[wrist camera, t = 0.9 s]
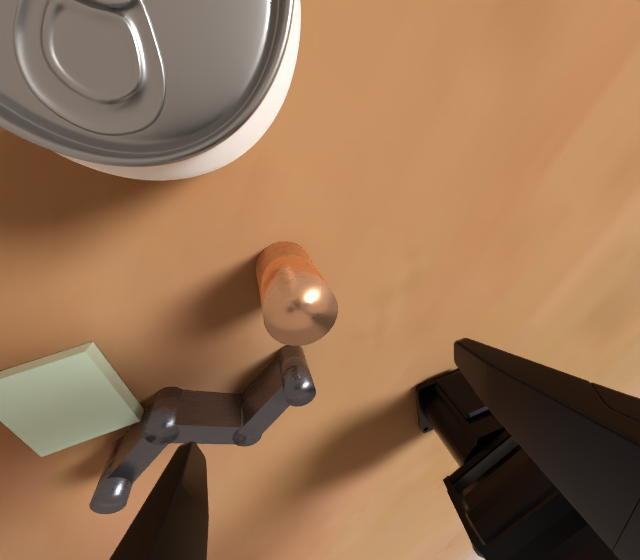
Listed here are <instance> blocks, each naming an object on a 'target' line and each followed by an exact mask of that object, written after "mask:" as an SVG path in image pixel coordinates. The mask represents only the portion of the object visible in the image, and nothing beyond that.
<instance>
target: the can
mask: <svg viewBox="0 0 640 560" xmlns="http://www.w3.org/2000/svg"><path fill="white" fill-rule="evenodd" d="M300 22H301V6H300V0H0V127H2V128H3V129H5V130H7V131H9V132H11V133H13V134H15V135H17V136H19V137H21V138H23V139H25V140H27V141H29V142H31V143H34V144H36V145H38V146H41V147H43V148H46V149H48V150H51V151H54V152H55V153H57V154H59V155H61V156H63V157H65V158H68V159H70V160H72V161H74V162H76V163H79V164H81V165H84V166H86V167H89V168H92V169H95V170H98V171H101V172H104V173H108V174H112V175H116V176H121V177H125V178H132V179H139V180H155V181H164V180H179V179H186V178H192V177H196V176H200V175H203V174H206V173H209V172H212V171H214V170H217V169H219V168H221V167H223V166H225V165H227V164H229V163H231V162H232V161H234V160H235V159H237V158H238V157H240V156H241V155H242V154H244V153H245V152H246V151H247V150H249V149H250V148H251V147H252V146H253V145H254V144H255V143H256V142H257V141H258V140H259V139H260V138H261V137H262V135H263V134H264V133H265V132H266V130H267V129H268V128H269V126H270V125H271V123H272V122H273V120H274V119H275V117H276V115H277V114H278V112H279V110H280V108H281V106H282V104H283V102H284V99H285V97H286V94H287V92H288V89H289V86H290V83H291V80H292V76H293V72H294V68H295V64H296V59H297V54H298V47H299V38H300Z"/></svg>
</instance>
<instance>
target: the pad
mask: <svg viewBox="0 0 640 560" xmlns="http://www.w3.org/2000/svg"><path fill="white" fill-rule="evenodd" d="M143 412H144V409H143V407H142V406H141V405H140V403H139V402H138V401H137V400H136V398H135V397H134V396H133V394H132V393H131V392H130V390H129V389H128V388H127V386H126V385H125V384H124V382H123V381H122V380H121V378H120V377H119V376H118V374H117V373H116V372H115V370H114V369H113V368H112V366H111V365H110V364H109V362H108V361H107V360H106V358H105V357H104V356H103V354H102V353H101V352H100V350H99V349H98V348H97V346H96V345H95V344H94V342H89V343H86V344H83V345H80V346H77V347H74V348H71V349H68V350H65V351H61V352H58V353H55V354H52V355H49V356H46V357H43V358H40V359H37V360H34V361H30V362H27V363H24V364H21V365H18V366H15V367H12V368H9V369H6V370H2V371H0V421H1V422H2V423H3V424H4V425H5V426H6V427H8V428H9V429H10V430H11V431H12V432H13V433H14V434H15V435H17V436H18V437H19V438H20V439H21V440H22V441H23V442H24V443H26V444H27V445H28V446H29V447H30V448H31V449H32V450H33V451H35V452H36V453H37V454H38V455H39V456H40V457H43V456H46V455H49V454H51V453H54V452H57V451H60V450H62V449H65V448H68V447H71V446H73V445H76V444H79V443H82V442H84V441H87V440H90V439H93V438H95V437H98V436H101V435H104V434H107V433H109V432H112V431H115V430H118V429H120V428H123V427H126V426H129V425H131V424H134V423H137V422H140V421H141V418H142V415H143Z"/></svg>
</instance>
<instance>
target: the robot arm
mask: <svg viewBox="0 0 640 560" xmlns="http://www.w3.org/2000/svg"><path fill="white" fill-rule="evenodd" d="M454 361H455V363H456V365H457V367H458V368H459V370H457V371H454V372H452V373H449V374H447V375H444V376H442V377H439V378H437V379H434V380H431V381H429V382H426V383H424V384H421V385H419V386H418V387H417V388H416V398H417V408H418V418H419V428H420V430H421V431H422V432H423V433H425V432H428V431H430V430H433V429H434V430H435V432H436V433H437V434H438V436H439V437H440V439H441V440H442V442H443V443H444V445H445V446H446V447H447V449H448V450H449V452H450V453H451V455H452V456H453V458H454V459H455V460H456V462H457V463H458V465H459V466H460V468H458V469H457V470H456V471H455V472H454V473H453V474H451V475H450V476H447V477H446V478H444V479H443V481H444V483H445V485H446V487H447V492H448V494H449V496H450V498H451V500H452V503H453V505H454V507H455V509H456V511H457V513H458V515H459V517H460V519H461V521H462V523H463V526H464V528H465V530H466V532H467V534H468V536H469V538H470V540H471V543H472V546H473V549H474V551H475V552H476V553H477V555H478V556H480V557H482V558H484V559H485V560H640V398H637V397H633V396H630V395H627V394H624V393H621V392H618V391H616V390H613V389H610V388H607V387H604V386H601V385H598V384H595V383H590V382H589V381H587V380H584V379H581V378H578V377H576V376H573V375H570V374H567V373H564V372H561V371H559V370H556V369H553V368H550V367H547V366H545V365H542V364H539V363H536V362H533V361H530V360H528V359H525V358H522V357H519V356H516V355H514V354H511V353H508V352H505V351H502V350H499V349H497V348H494V347H491V346H488V345H485V344H483V343H480V342H477V341H474V340H471V339H468V338H463V339H460V340H457V341H455V342H454ZM208 520H209V514H208V489H207V468H206V459H205V456H204V455H203V453H202V452H201V450H200V449H199V447H198V446H197V444H196V443H195V442H194V441H190V442H188V443H185V444H182V445H180V446H179V447H178V448H177V450H176V452H175V453H174V455H173V457H172V458H171V460H170V461H169V463H168V465H167V466H166V468H165V470H164V471H163V473H162V475H161V476H160V478H159V479H158V481H157V483H156V484H155V486H154V488H153V489H152V491H151V493H150V494H149V496H148V497H147V499H146V501H145V502H144V504H143V506H142V507H141V509H140V511H139V512H138V514H137V515H136V517H135V519H134V520H133V522H132V524H131V525H130V527H129V529H128V530H127V532H126V533H125V535H124V537H123V538H122V540H121V542H120V543H119V545H118V547H117V548H116V550H115V551H114V553H113V555H112V556H111V558H110V560H206V559H207V541H208Z"/></svg>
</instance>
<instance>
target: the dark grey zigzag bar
mask: <svg viewBox="0 0 640 560" xmlns="http://www.w3.org/2000/svg"><path fill="white" fill-rule="evenodd" d="M315 394H316V390H315V386H314V383H313V380H312V377H311V374H310V371H309V368H308V365H307V362H306V359H305V356H304V352H303V350H302V348H301V347H300V346H291V345H286V346H284V347H283V348H281V349H280V350H279V352H278V355H277V357H276V358H275V359H274V360H273V361H272V362H271V364H270V365H269V366H268V367H267V368H266V369H265V370H264V371H263V372H262V373H261V374H260V375H259V377H258V378H257V379H256V380H255V381H254V382H253V383H252V384H251V385H250V386H249V387H248V388H247V390H246V391H245V392H244V393H243V394H241V395H239V394H227V393H214V392H202V391H189V390H181V389H179V388H176V387H167V388H164V389H162V390H160V391H159V392H158V393H157V395H156V397H155V400H154V402H153V403H152V404H151V405H150V407H149V408H148V409H147V410H146V411H145V412H144V413H143V415H142V418H141V421H140V422H137V423H135V424H134V425H133V426H132V427H131V429H130V430H129V431H128V432H127V433H126V434H125V436H124V437H123V438H121V439H119V440H117V441H116V442H115V443H114V445H113V448H112V450H111V453H110V455H109V458H108V460H107V462H106V465H105V467H104V470H103V472H102V475H101V477H100V480H99V482H98V485H97V487H96V490H95V492H94V495H93V497H92V500H91V502H90V509H91V510H92V511H94V512H96V513H99V514H111V513H115V512H118V511H120V510H121V509H123V508H124V507H125V506H126V504H127V500H128V497H129V494H130V490H131V487H132V484H133V482H134V481H135V480H136V479H137V478H138V477H139V476H140V475H141V473H142V472H143V471H144V470H145V469H146V468H147V467H148V466H149V465H150V463H151V462H152V461H153V460H154V459H155V458H156V457H157V456H158V455H159V453H160V452H161V451H162V450H163V449H164V448H165V447H166V446H167V445H168V444H169V443H188V442H190V441H194V442H195V443H196V444H236V445H238V446H250V445H253V444H255V443H256V442H258V441H259V440H260V438H261V436H262V433H263V432H264V431H265V430H266V429H267V428H268V427H269V426H270V425H271V424H272V423H273V422H274V421H275V420H276V419H277V418H278V417H279V416H280V415H281V414H282V413H283V412H284V411H285V410H286V409H287V408H288V407H289V406H290V405H291V406H303V405H306V404H308V403H309V402H311V401H312V400H313V398H314V397H315Z"/></svg>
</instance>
